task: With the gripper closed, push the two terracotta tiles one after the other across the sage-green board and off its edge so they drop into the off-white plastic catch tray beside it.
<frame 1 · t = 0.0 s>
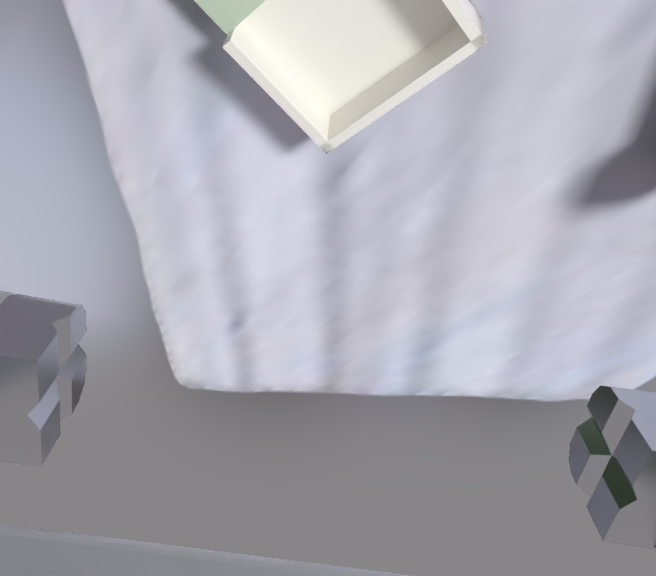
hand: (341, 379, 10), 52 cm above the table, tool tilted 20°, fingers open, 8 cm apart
catch tray: (354, 18, 58), on the table
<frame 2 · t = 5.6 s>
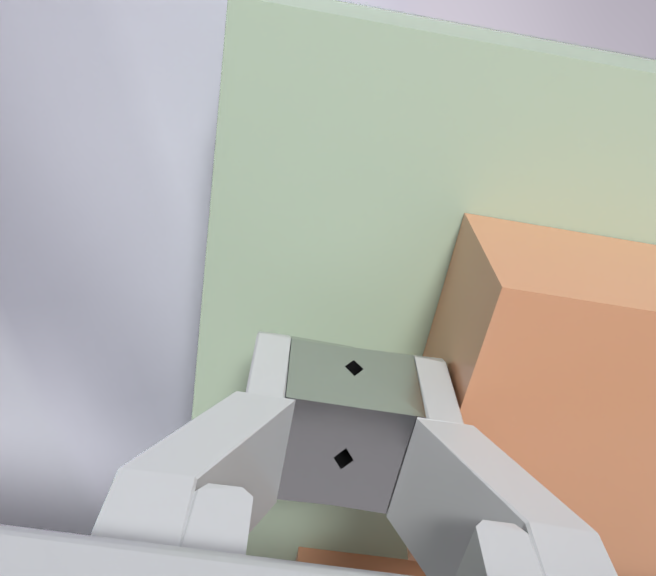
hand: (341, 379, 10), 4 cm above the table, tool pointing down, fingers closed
tile a: (562, 364, 11), point 3 cm above the table, touching gripper
board: (489, 428, 16), on the table
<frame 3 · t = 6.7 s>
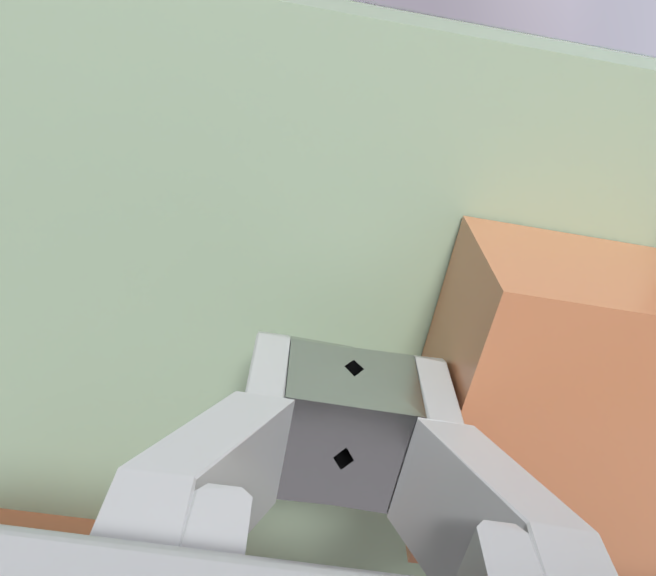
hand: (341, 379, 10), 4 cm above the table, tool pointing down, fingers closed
tile a: (559, 366, 11), point 3 cm above the table, touching gripper
board: (232, 390, 15), on the table
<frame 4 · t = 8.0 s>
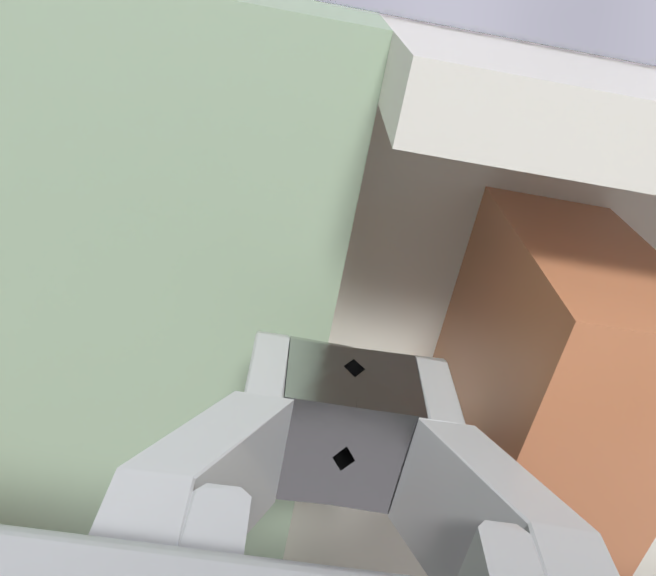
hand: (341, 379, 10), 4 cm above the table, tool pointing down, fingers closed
tile a: (474, 368, 11), point 3 cm above the table, tilted 90°, touching catch tray
catch tray: (573, 443, 16), on the table
board: (10, 363, 15), on the table
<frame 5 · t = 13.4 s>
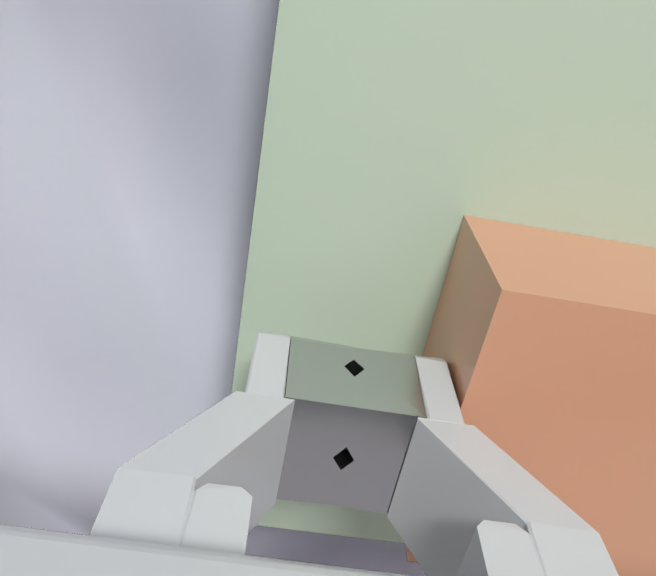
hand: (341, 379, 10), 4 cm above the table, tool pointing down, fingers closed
board: (642, 116, 12), on the table
tile b: (560, 366, 11), point 3 cm above the table, touching gripper
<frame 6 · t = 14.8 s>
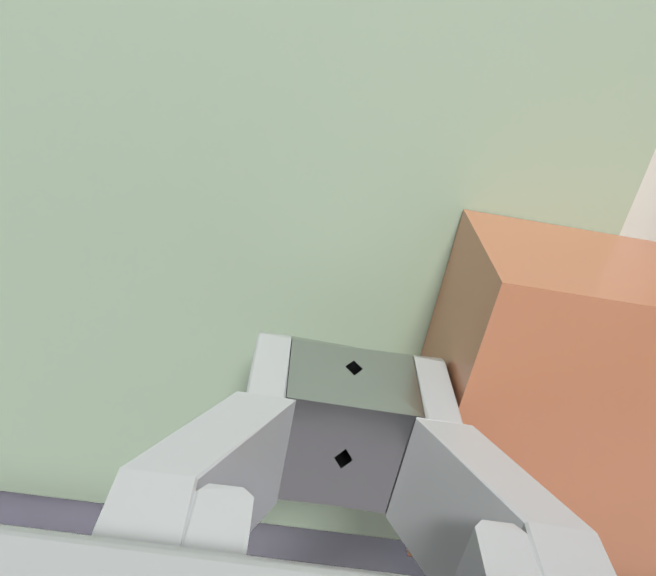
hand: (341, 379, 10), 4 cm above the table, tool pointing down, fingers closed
board: (222, 37, 12), on the table
tile b: (560, 361, 11), point 3 cm above the table, touching gripper
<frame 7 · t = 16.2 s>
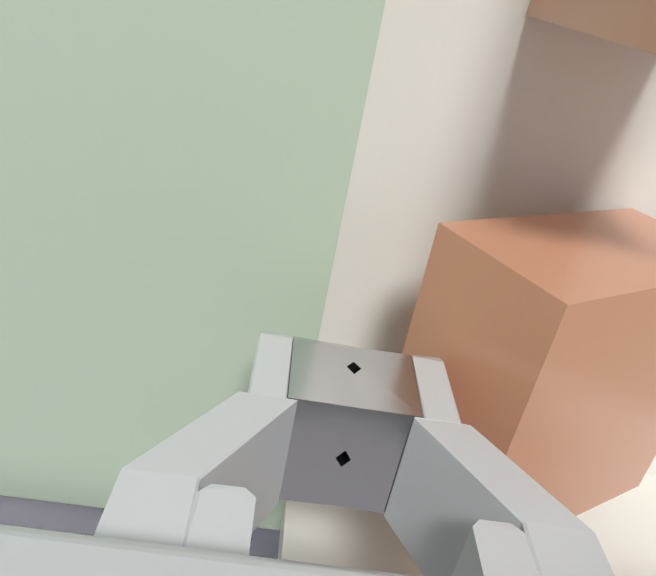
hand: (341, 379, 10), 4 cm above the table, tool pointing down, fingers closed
tile b: (502, 335, 12), point 2 cm above the table, tilted 32°, touching catch tray, gripper
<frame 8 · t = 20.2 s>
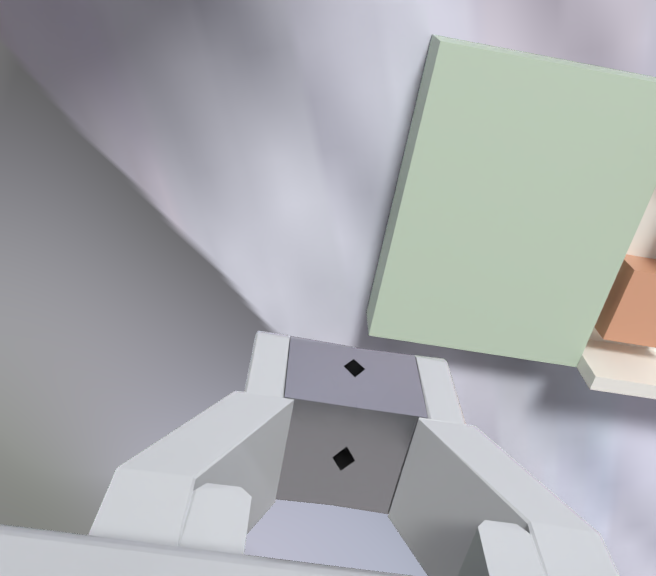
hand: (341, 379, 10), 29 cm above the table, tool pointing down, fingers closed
board: (504, 206, 39), on the table
tile b: (639, 292, 41), point 1 cm above the table, touching catch tray
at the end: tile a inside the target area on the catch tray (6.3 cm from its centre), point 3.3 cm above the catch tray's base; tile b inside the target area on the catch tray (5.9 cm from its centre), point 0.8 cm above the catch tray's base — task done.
